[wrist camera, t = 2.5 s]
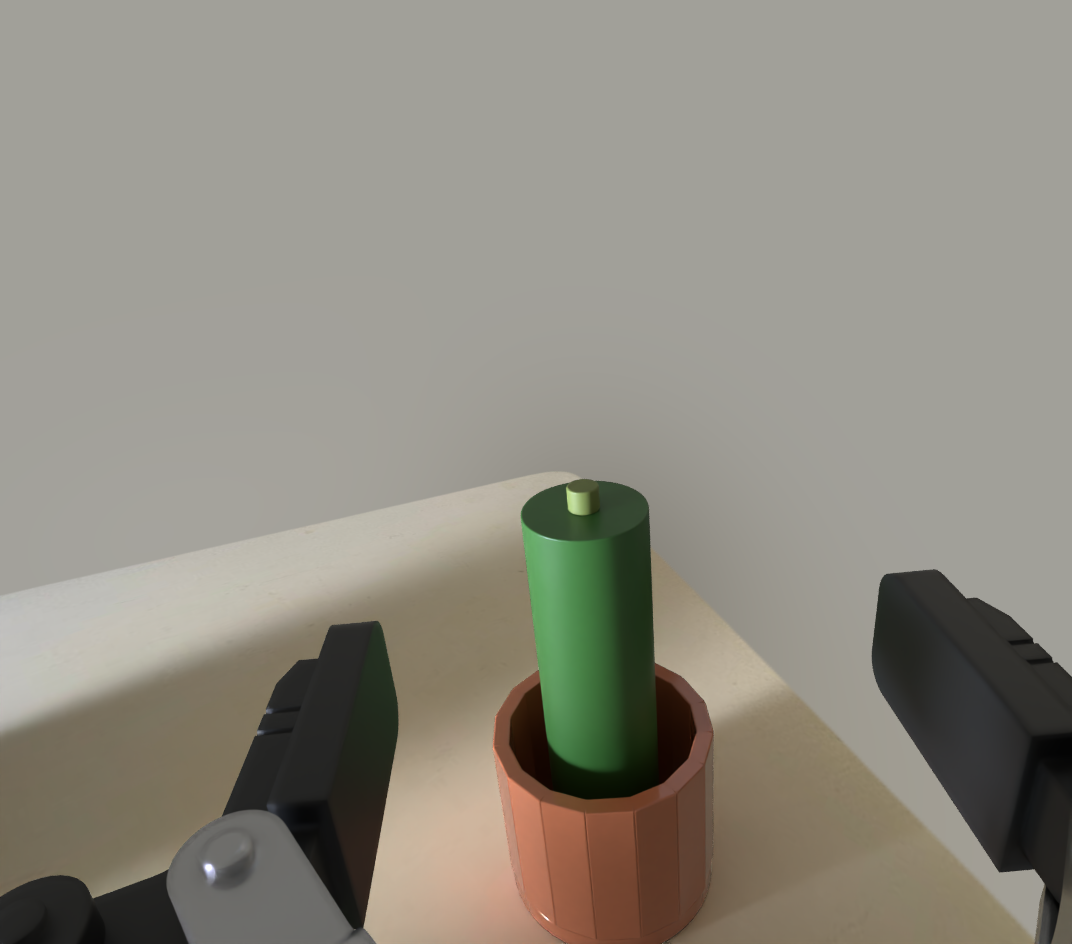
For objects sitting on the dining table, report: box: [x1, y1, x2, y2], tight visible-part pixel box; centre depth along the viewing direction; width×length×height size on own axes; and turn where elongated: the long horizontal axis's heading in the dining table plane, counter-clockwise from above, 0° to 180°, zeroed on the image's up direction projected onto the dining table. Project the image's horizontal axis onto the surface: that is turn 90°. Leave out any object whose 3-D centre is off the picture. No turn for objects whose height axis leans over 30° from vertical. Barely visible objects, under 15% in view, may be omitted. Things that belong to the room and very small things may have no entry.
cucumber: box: [521, 479, 659, 800], centre depth 27 cm, size 4×4×16 cm
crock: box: [493, 663, 714, 944], centre depth 29 cm, size 8×8×7 cm
